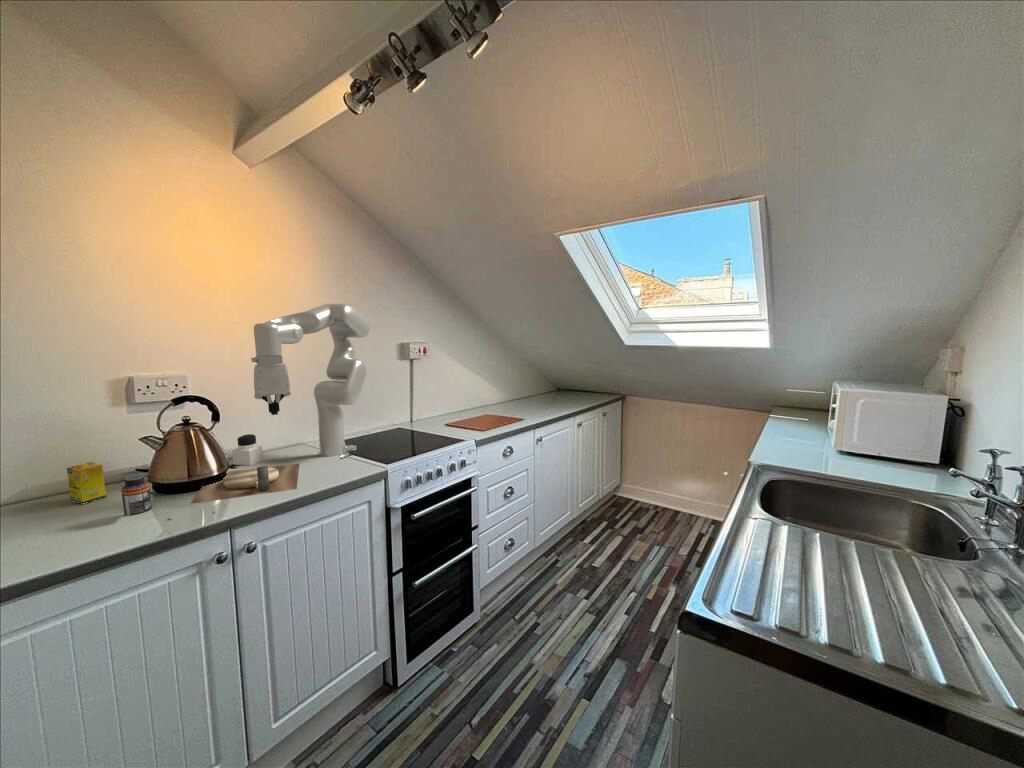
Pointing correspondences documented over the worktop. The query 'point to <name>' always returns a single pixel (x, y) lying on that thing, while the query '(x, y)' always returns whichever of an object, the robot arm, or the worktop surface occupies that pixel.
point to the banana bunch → (251, 478)
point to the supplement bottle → (136, 496)
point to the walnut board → (282, 483)
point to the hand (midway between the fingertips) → (274, 414)
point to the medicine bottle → (247, 451)
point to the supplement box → (86, 482)
